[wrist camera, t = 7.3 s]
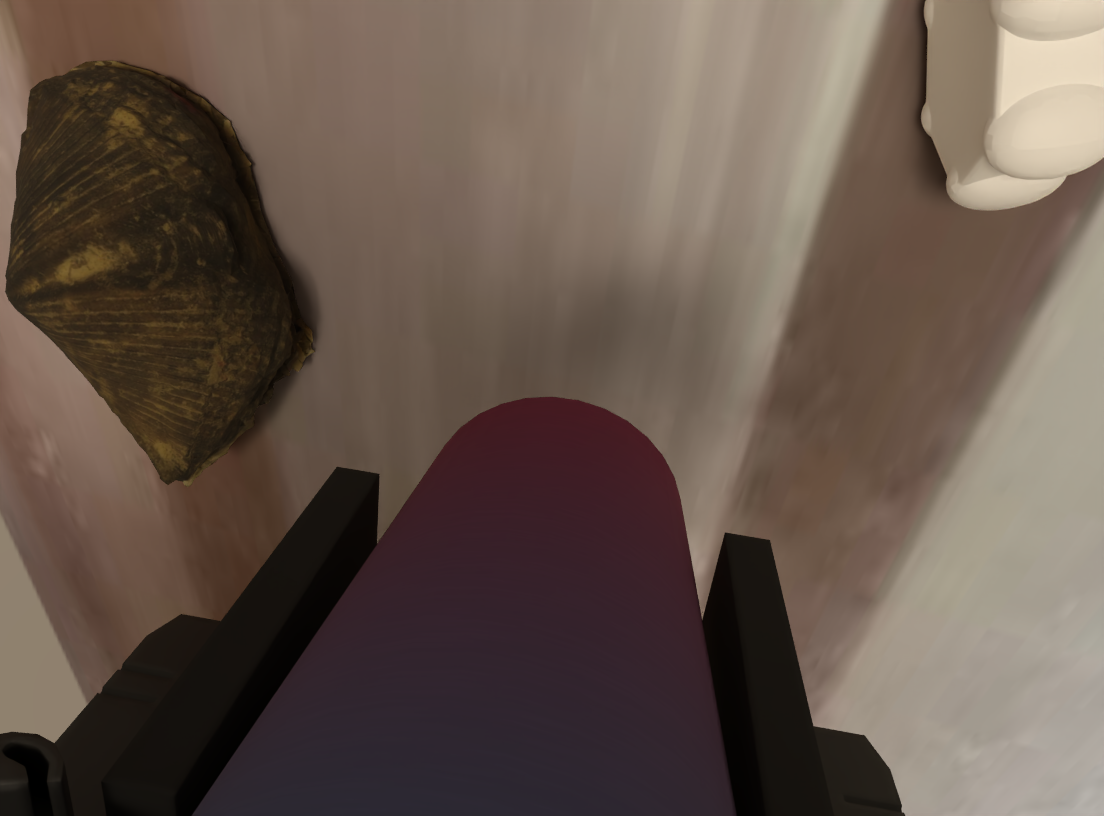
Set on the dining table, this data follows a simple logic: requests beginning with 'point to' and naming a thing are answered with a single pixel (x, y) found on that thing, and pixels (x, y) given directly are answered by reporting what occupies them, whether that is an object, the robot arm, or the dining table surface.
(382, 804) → the cup
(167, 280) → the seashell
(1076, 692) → the dining table surface
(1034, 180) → the bone shaped toy
